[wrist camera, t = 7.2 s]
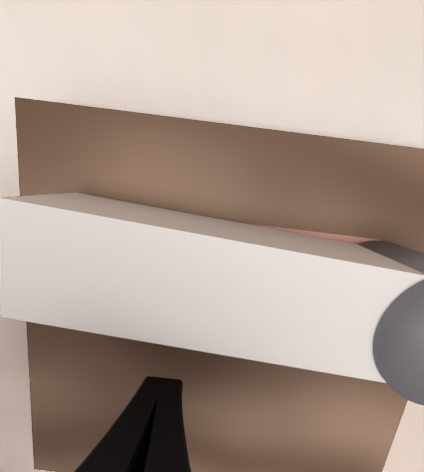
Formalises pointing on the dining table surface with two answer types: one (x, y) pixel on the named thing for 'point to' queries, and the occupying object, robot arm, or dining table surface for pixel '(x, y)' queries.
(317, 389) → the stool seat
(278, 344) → the white bar with cylinder
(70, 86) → the dining table surface
